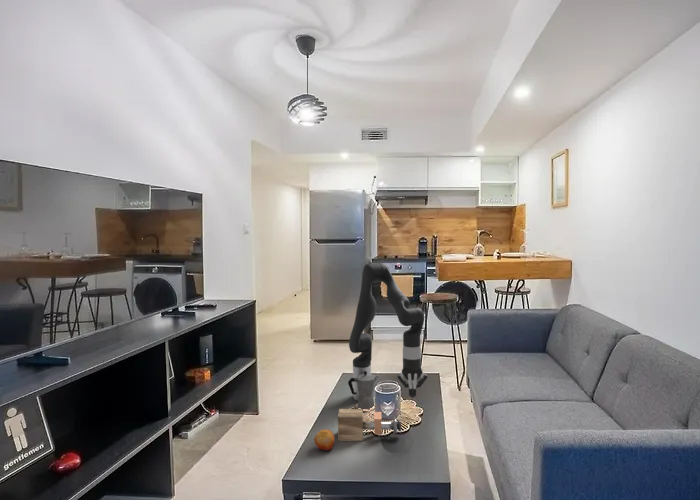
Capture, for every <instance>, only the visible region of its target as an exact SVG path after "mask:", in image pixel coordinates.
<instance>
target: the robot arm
mask: <svg viewBox="0 0 700 500" xmlns="http://www.w3.org/2000/svg"><path fill="white" fill-rule="evenodd" d="M378 283H384V284H385V286H386V297H387V300H388V302H389V303H390V305H391V306H392V308H393V309H394V311H395V314H396V315H397V319H398V322H399V323H400V324H401V325H402V326H403V327H410V328H409V329H407V330H405V331H404V332H403V335H402V339H403V340H402V342H403V343H402V344H403V345H402V369H401V372H400V373H397V375H396V377H397V379H398V381H399V382H400V383H401V385H403V386H404V388H405V389H406V388H408V395H409V397H410V398H413V399H414V398H416V396H417V389H418V388H420V387H421V386H423V384H424V383H425V381H427V379H428V376H427V373H424V372H423V369H422V349H421V335H422V332H423V331H422V330H423V327H424V322H425V313H424V311H423V310H422V309H421V308H420V307H411V308H410V304H411V303H410V300H409V299H408V298H407V296H406V295H405V294H404V292H403V291H402V290H401V289H400V287H399V286H398V284H397V282H396V280H395V279H394V276H393V275H392V273H391V271H390V269H389V268H388V266H387V264H385V263H383V262H374V263H373V262H372V263H366V264H365V265H364V266H363V269H362V275H361V284H360V291H359V292H360V293H359V298H358V303H357V307H356V311H355V312H356V313H355V318H354V322H353V323H354V324H353V327H352V330H351V333H350V336H349V340H348V347H349V350H350V352H351V353H353V354H359V353H360V354H359V355H358V356H356V357H355V358H353V360H352V378H354V377H357V376H359V375H362V374H364V371H367V374H370V375H372V357H373V356H372V351H373V341H372V337H371V335H370V334H369V333H367V332H365V333H363V332H364V330H366V329H367V328H368V326H369V325H370V324H371V323H372V322H373V320H374V318H375V317H376V314H377V313H376V312H377V307H378V306H377V301H376V299H375V297H374V296H373V294H372V285H373V284H378ZM404 378H405V379H406V380H407V382H408V383H407V382H406V381H405V379H404ZM417 380H418V381H417ZM352 386H353V389H354V392H357V393H356V394H354V395H353V394H352V395H353V400H355V401H357V402H358V397H359V391H358V386H357V382H352Z"/></svg>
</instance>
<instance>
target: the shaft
mask: <svg viewBox="0 0 700 500" xmlns="http://www.w3.org/2000/svg"><path fill="white" fill-rule="evenodd" d="M362 427H363V431H364V430H366V431H367V430H368V431H369V430H374V421H363V422H362ZM385 430H386V431H387V430H389V431H393V434H397V433H398V432H402V421H401V420H400V419H398V420H397V418H392V421H382V431H385ZM374 431H375V430H374Z"/></svg>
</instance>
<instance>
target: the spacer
mask: <svg viewBox="0 0 700 500" xmlns="http://www.w3.org/2000/svg"><path fill="white" fill-rule="evenodd" d="M373 414H374V417H373V419H374V421H373V422H374V435H383V430H382V422H383V421H382V411H374V413H373Z"/></svg>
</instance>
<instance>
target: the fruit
mask: <svg viewBox="0 0 700 500" xmlns="http://www.w3.org/2000/svg"><path fill="white" fill-rule="evenodd" d="M313 440H314V444H315V446H316V448H317V449H318V450H319V451H330V450H332V449H333V447H334V445H335V435H334V434H333V432H332V431H331V430H330V429H327V428H325V429H321V430H319V431H318V432H317V433H316V434H315V436H314V439H313Z"/></svg>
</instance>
